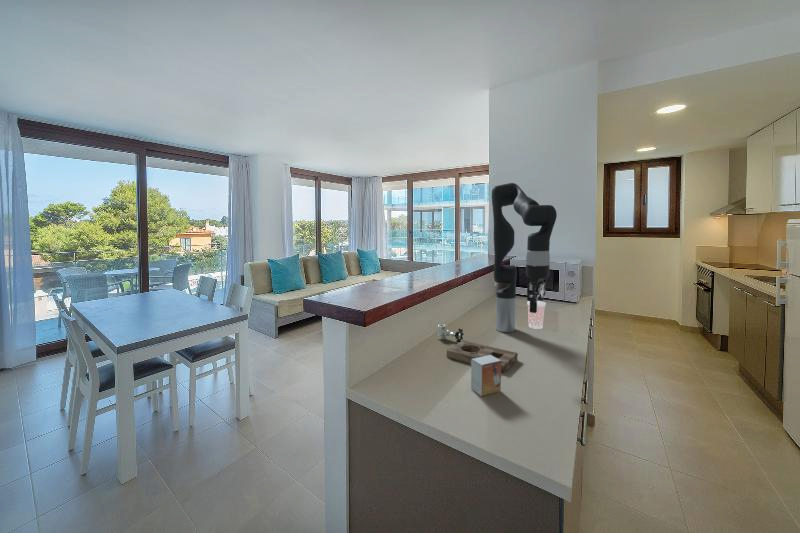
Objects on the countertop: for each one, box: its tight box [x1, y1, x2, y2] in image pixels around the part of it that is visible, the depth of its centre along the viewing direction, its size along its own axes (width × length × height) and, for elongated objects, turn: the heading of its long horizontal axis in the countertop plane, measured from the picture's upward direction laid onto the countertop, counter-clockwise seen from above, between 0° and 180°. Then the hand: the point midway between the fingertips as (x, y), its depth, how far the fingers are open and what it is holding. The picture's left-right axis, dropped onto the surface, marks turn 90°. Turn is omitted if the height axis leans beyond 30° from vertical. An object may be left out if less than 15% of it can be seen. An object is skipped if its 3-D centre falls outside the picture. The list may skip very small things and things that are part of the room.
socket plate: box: [446, 339, 519, 374], centre depth 128 cm, size 14×24×3 cm, turn 50°
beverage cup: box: [526, 300, 547, 330], centre depth 113 cm, size 6×6×14 cm
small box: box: [470, 355, 502, 397], centre depth 104 cm, size 8×6×10 cm
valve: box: [436, 323, 464, 343], centre depth 150 cm, size 7×7×12 cm
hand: (536, 310), depth 113 cm, fingers closed on beverage cup, 6 cm apart
